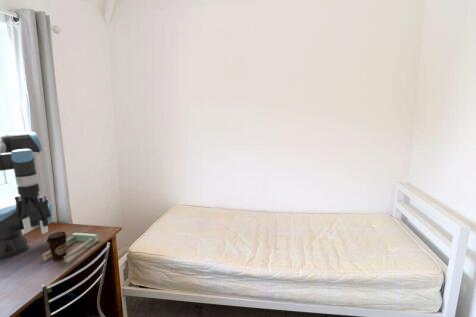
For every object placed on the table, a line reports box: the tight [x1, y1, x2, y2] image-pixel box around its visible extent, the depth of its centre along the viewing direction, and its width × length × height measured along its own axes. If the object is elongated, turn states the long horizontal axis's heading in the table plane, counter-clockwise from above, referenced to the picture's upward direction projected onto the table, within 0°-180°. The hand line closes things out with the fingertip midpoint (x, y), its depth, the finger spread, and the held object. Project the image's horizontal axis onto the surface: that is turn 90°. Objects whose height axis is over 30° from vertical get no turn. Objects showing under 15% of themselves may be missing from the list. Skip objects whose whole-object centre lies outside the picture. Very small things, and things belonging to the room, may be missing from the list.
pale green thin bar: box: [41, 235, 77, 262], centre depth 145 cm, size 2×20×3 cm, turn 170°
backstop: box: [71, 232, 99, 243], centre depth 155 cm, size 14×2×4 cm, turn 80°
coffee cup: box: [46, 231, 68, 262], centre depth 136 cm, size 9×8×13 cm
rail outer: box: [63, 237, 96, 263], centre depth 143 cm, size 2×20×3 cm, turn 170°
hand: (36, 232), depth 124 cm, fingers open, 8 cm apart
